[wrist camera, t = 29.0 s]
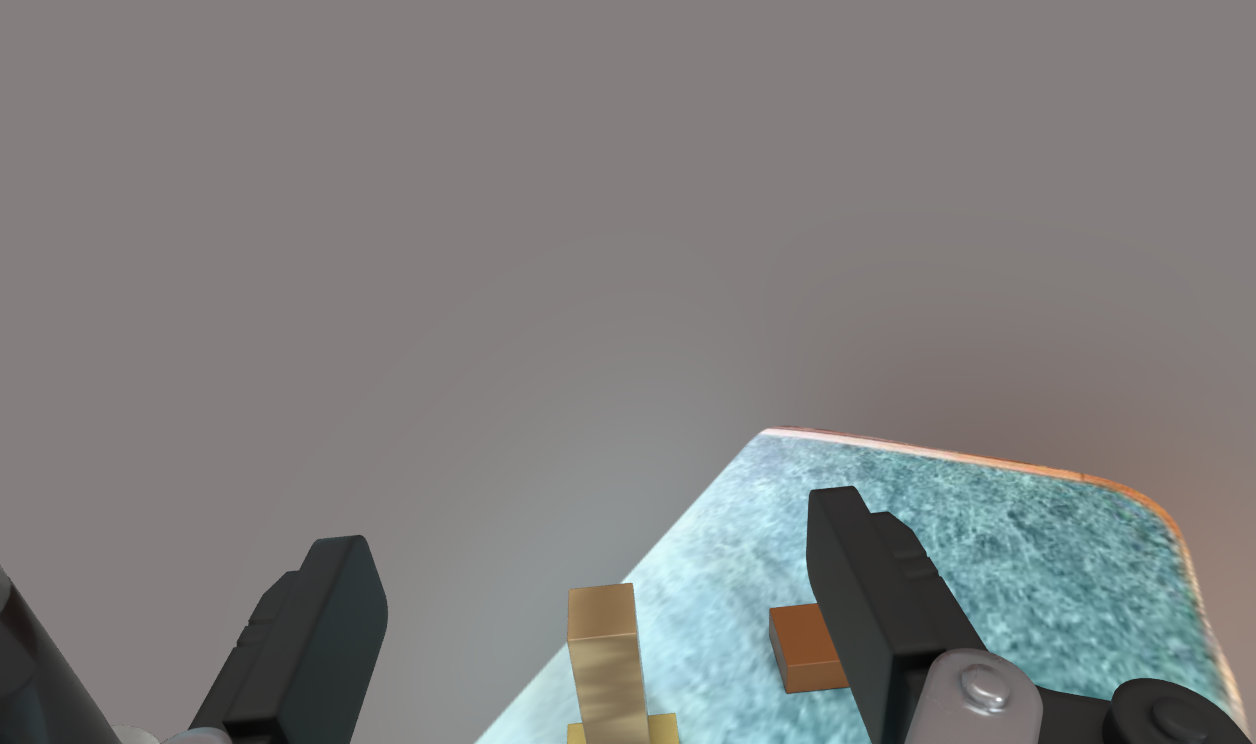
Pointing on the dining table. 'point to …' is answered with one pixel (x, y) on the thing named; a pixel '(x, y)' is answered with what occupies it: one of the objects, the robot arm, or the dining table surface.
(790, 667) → the brown square block
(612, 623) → the pillar on square base
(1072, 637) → the dining table surface
